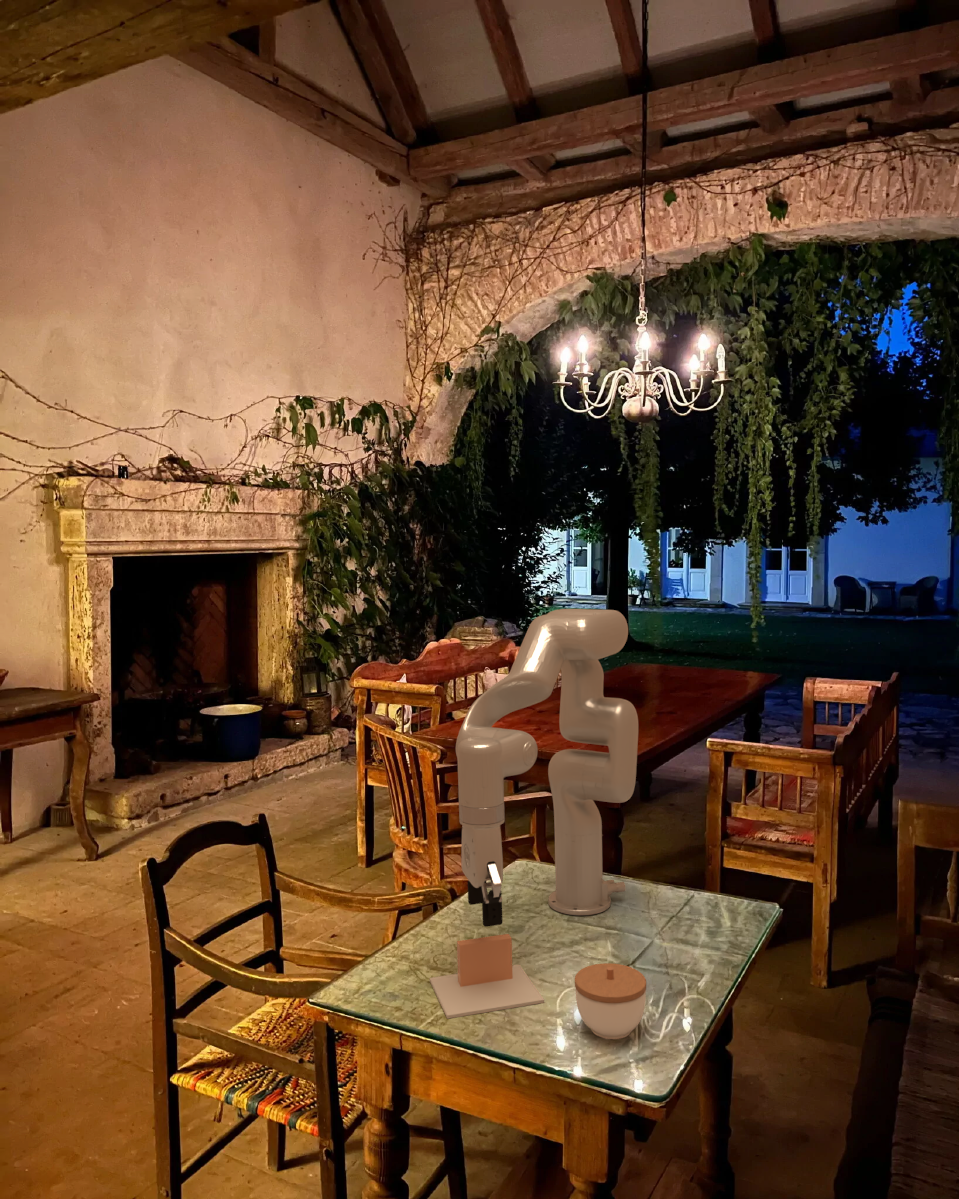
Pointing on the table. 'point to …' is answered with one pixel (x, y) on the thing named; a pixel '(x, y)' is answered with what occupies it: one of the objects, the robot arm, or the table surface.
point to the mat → (485, 994)
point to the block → (484, 959)
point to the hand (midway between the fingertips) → (484, 913)
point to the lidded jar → (610, 999)
